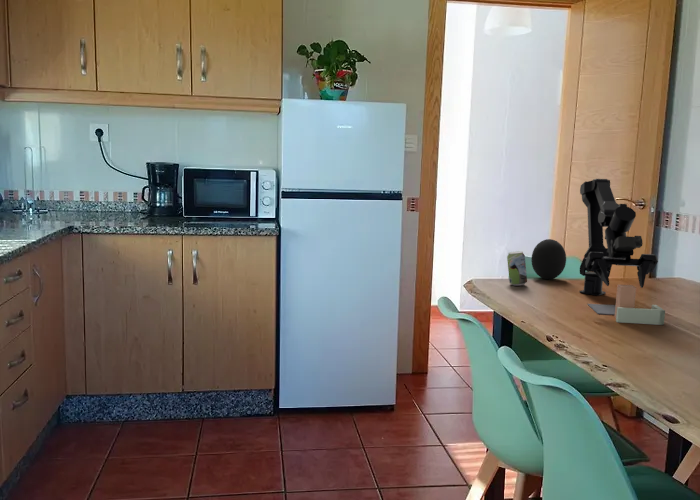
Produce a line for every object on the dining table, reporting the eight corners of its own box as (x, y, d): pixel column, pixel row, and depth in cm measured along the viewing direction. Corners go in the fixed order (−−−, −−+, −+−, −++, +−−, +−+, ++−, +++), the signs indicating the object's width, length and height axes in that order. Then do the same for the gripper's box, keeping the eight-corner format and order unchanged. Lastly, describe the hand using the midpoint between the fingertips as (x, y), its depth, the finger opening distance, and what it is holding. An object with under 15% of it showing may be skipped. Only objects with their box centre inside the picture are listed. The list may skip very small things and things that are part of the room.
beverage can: (527, 287, 214) (530, 253, 212) (505, 286, 215) (508, 252, 213) (526, 284, 220) (528, 250, 218) (505, 282, 221) (507, 249, 220)
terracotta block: (614, 317, 176) (617, 284, 174) (629, 317, 175) (632, 285, 174) (618, 320, 172) (621, 286, 171) (633, 321, 172) (636, 287, 170)
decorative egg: (530, 280, 226) (533, 240, 224) (529, 274, 238) (532, 236, 236) (565, 283, 223) (568, 242, 221) (563, 277, 235) (566, 238, 233)
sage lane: (610, 316, 177) (611, 302, 176) (654, 318, 175) (656, 304, 174) (617, 322, 170) (618, 308, 169) (663, 324, 168) (665, 310, 168)
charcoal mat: (587, 304, 190) (587, 303, 190) (628, 306, 189) (628, 305, 189) (597, 314, 178) (597, 313, 178) (641, 316, 177) (641, 315, 177)
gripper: (591, 224, 178) (598, 267, 168) (659, 226, 175) (669, 271, 166) (582, 247, 187) (588, 290, 177) (646, 250, 184) (656, 293, 175)
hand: (625, 286), depth 174 cm, fingers open, 9 cm apart
